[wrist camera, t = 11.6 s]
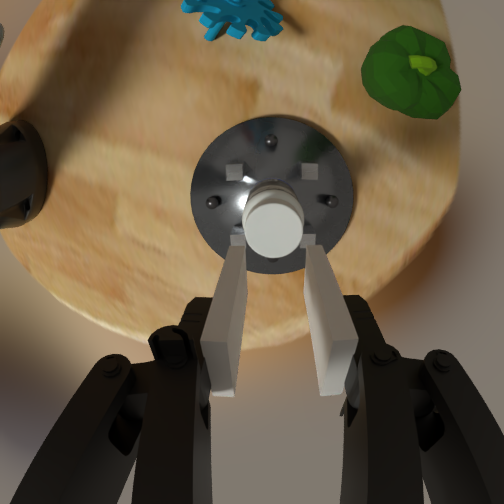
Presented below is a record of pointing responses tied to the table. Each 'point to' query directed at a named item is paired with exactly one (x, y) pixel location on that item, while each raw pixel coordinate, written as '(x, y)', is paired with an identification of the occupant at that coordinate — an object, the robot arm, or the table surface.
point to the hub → (271, 166)
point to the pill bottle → (273, 218)
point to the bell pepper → (411, 73)
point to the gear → (236, 17)
